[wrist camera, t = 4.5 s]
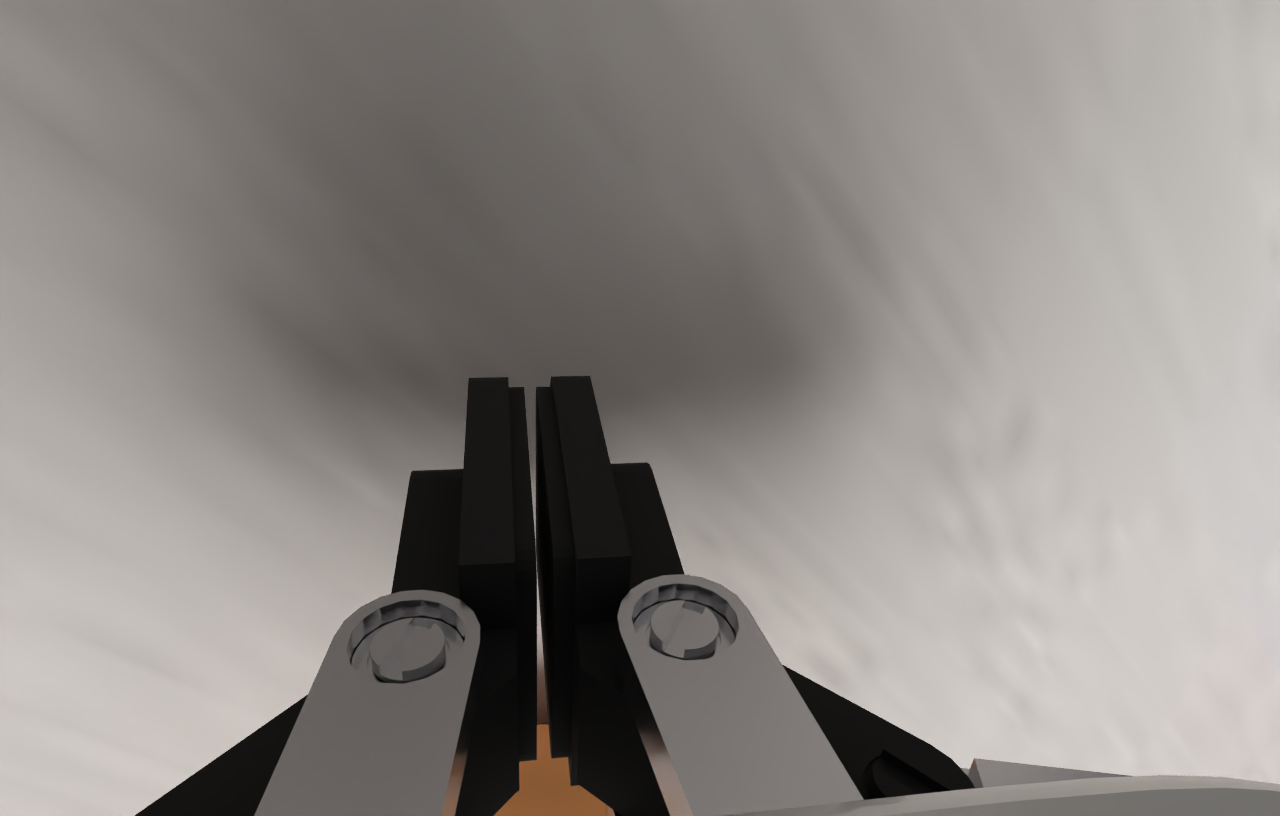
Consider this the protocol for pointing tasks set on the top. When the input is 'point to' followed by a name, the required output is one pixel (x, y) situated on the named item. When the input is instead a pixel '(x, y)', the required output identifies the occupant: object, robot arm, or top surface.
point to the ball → (549, 787)
